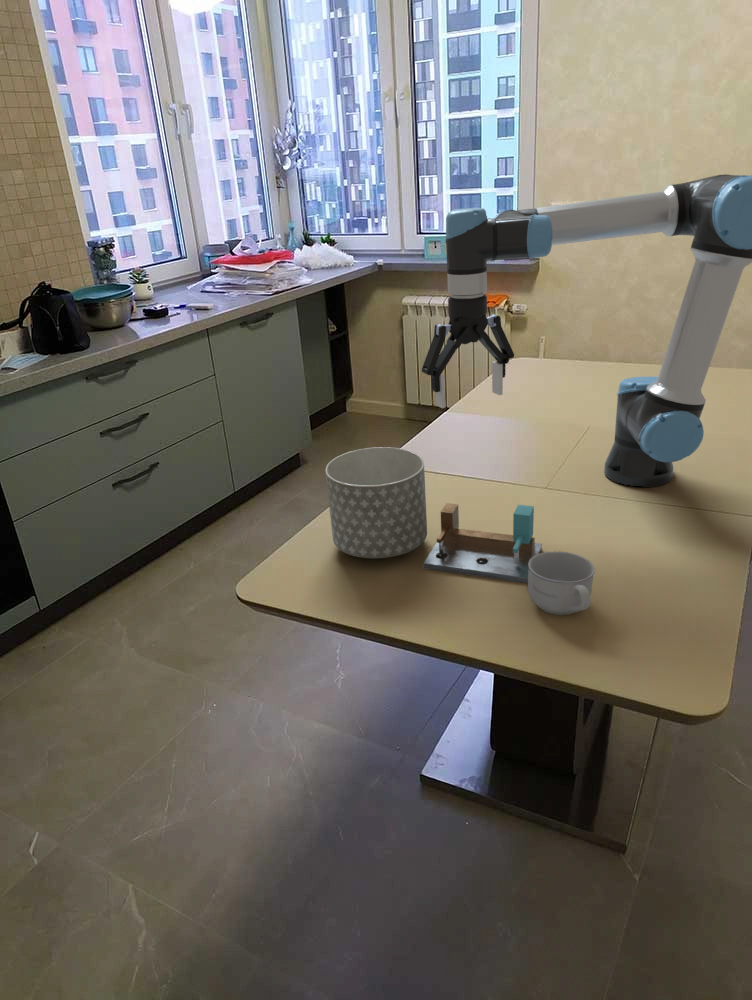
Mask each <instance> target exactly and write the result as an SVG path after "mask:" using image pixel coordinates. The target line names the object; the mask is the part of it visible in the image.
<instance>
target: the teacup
mask: <svg viewBox="0 0 752 1000" xmlns="http://www.w3.org/2000/svg"><path fill="white" fill-rule="evenodd" d="M528 567H529V572H528V583H527V590H528V596H529V598H530V599H531V601H532V602H533V603H534V604H535V605H536V606H538V607H539V608H540V609H541V610H543V611H544V612H546V613H548V614H551V615H556V616H565V615H566V616H567V615H571V614H573V613H578V612H579V611H580V612H581V611H585V610H587V609H589V607H590V605H591V603H592V601H591V599H592V598H591V595H592V594H591V593H592V589H593V582H594V575H595V572H596V570H595V569H596V568H595V565H594V564H593V562H592V561H590V560H589V559H587V558H585V557H584V556H582V555H579V554H576V553H573V552H568V551H567V552H566V551H559V550H558V551H555V550H554V551H545V552H541V553H540V554H537V555H535V556H533V557H532V558H531V559H530V560H529V563H528Z"/></svg>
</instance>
